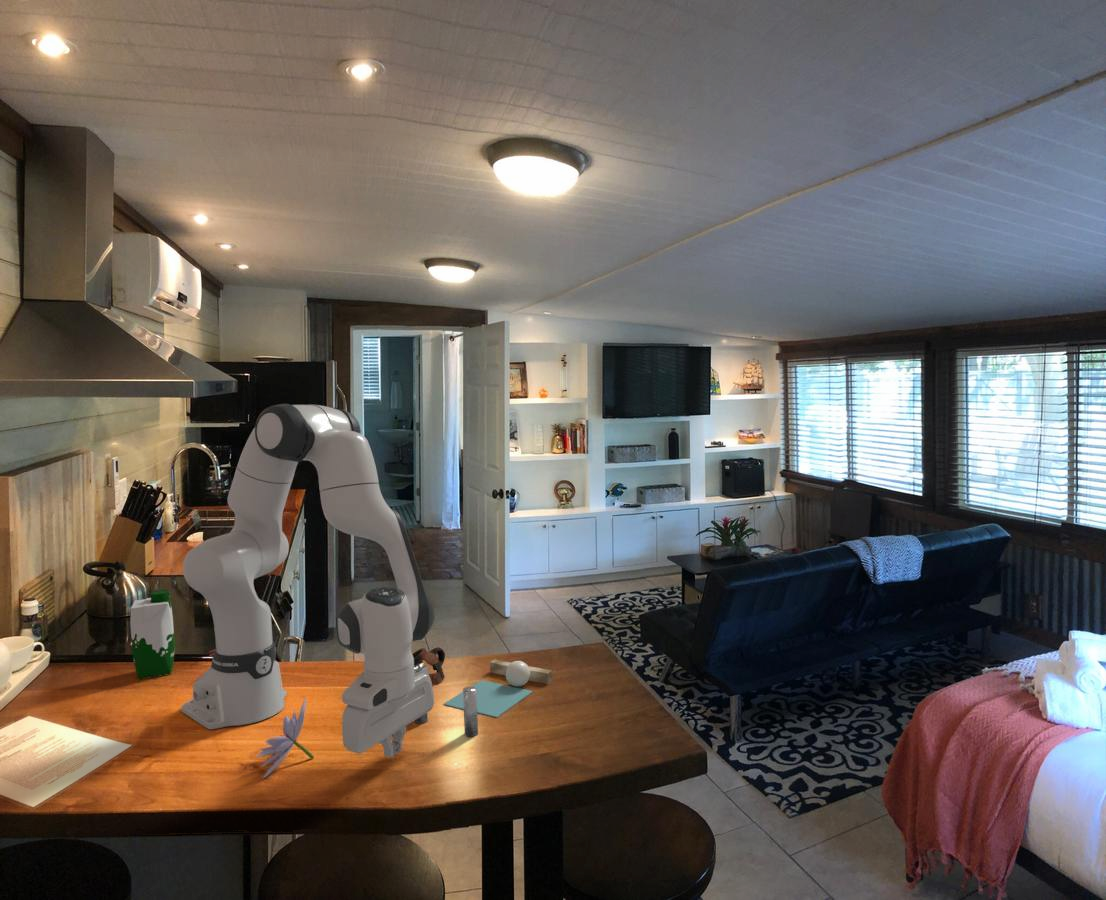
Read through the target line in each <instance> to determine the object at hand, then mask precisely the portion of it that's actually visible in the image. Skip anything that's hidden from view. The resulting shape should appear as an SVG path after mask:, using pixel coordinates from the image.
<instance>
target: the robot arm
mask: <svg viewBox="0 0 1106 900" xmlns="http://www.w3.org/2000/svg"><path fill="white" fill-rule="evenodd" d="M302 461H309V462H310V463H312V465H313V466H314V468H315V469H316V471H317V477H318V487H319V495H320V504H321V508H322V511H323V515H324V518H325V519H326V520H327V522H328V523H329V524H330V525H331V526H332V527H333V528H335V529H336V530H338V531H340V532H342V533H344V534H347V535H350V536H355V537H359V538H364V539H367V540H370V541H373V542H375V543H377V544H379V545H380V546H381V547H382V548H383V549H384V551H385V552H386V555H387V557H388V561H389V564H390V567H391V571H392V573H393V577H394V580H395V583H396V587H393V586H392V587H391V586H380V587H374V588H373V589H372V588H371V589H370V590H368V591H367V592H366V593H364V595H363V597H362V598H359V599H355V600H351V601H349V602H347V603H345V604H344V605H343V606H342V607H341V609H339V612H338V614H337V616H336V618H335V620H336V621H335V625H336V626H335V628H336V636H337V637H336V638H337V642H338V643H339V645H340V646H342V647H343V648H344V649H346V650H348V651H350V652H351V653H354V654H362V655H363V656H364V661H363V671H362V672H361V673H360V674H359V676H357V678H356V679H355V680H354V681H353V682H352V683H351V684H350V685H349V686H347V688H346V689H345V690H343V692H342V696H341V701H342V703H343V704H345V705H346V706H345V707H344V709H343V712H342V718H341V719H342V724H341V727H342V728H341V731H342V734H341V735H342V744H343V746H344V748H345V749H346V750H347V751H349V752H351V753H356V754H358V755H359V754H360V755H361V754H363V753H364V752H366V751H367V750H368V751H369V749H370V748H373V747H374V746H376V745H377V744H379V743H380V744H381V746H382V747H383V755H384V757H386V758H388V759H391V758H393V757H394V756H395V755H397V754H399V753H400V752H402V751H403V742H404V738H405V735H406V734H407V733H406V732H407V726H408V725H409V724H411V723H413V722H415V720H416V719H418V718H419V717H421V716H422V715H424V714H426V713H427V714H428V713H429V712H430V711H433V707H434V705H435V697H434V695H435V694H434V689H433V683H432V678H431V677H430V670H429V667H428V665H426V664H424V663H423V662H422V663H420V664H418V665H416V666H415V667H414V658H413V655H412V654H413V652H412V642H415V641H421V640H423V639H424V638H425V637H426V636H427V634H428V633H429V631H430V630H431V629H432V627H433V625H434V622H435V609H434V606H433V604H432V603H433V602H432V601H431V598H430V596H429V594H428V591H427V590H426V588H425V584H424V582H423V579H422V576H421V572H420V569H419V566H418V563H417V560H416V557H415V553H414V550H413V548H412V547H413V546H412V544H411V540H410V537H409V535H408V531H407V529H406V527H405V524H404V521H403V519H402V517H401V515H400V513H399V512H398V511H397V510H395V509H392V508H390V506H389V504H387V502H386V501H385V499H384V496H383V494H382V492H381V489H380V483H379V476H378V470H377V466H376V462H375V458H374V455H373V452H372V449H371V446H370V443H369V441H368V439H367V437H365V436H364V435H363V434H362V431H361V425H360V423H359V421H358V419H357V418H356V416H355V415H354V414H353V413H351V412H350V411H347V410H345V409H343V408H339V407H330V406H327V405H326V406H325V405H320V404H290V403H280V404H275V405H274V404H273V405H270V406H268V407H266V408H264V409H263V410H262V411H261V412H260V413H259V415H258V417H257V419H256V421H255V426H254V428H253V429H252V431H251V433H250V434H249V436H248V438H247V440H246V443H245V445H244V447H243V449H242V451H241V454H240V457H239V460H238V463H237V465H236V469H235V472H234V476H233V479H232V482H231V485H230V488H229V492H228V495H227V498H226V499H227V505H228V508H229V509H230V510H232V512H233V513H234V524H233V527H232V529H231V530H230V532H228V533H225V534H221V535H218V536H214V537H210V538H208V539H206V540H204V541H203V542H201V543H199V544H197V545H196V546H195V547H193V548H192V549H190V550H189V551H187V553H186V555H185V556H184V558H183V562H182V573H183V577H184V579H185V581H186V583H187V584H188V586H189V587H190V588H192V589H193V590H194V591H195V592H198V593H199V594H200V595H202V596H203V597H204V599H205V602H206V603H207V604H208V606H209V608H210V611H211V615H212V621H213V625H214V626H213V627H214V628H213V629H214V630H213V631H214V639H215V649H212V650H210V651H208V653H210V654H209V656H208V657H212V659H211V660H212V661H211V666H210V667H209V668H208V669H206V671H205V672H204V673H203V674H202V675H201V676H199V677H198V678H197V679H196V680H195V681H194V683H193V685H192V686H193V687H192V698H191V699H190V700H188V701H187V702H185V703H184V704H182V705H181V707H180V708H181V709H180V710H181V712H182V713H183V714H185V715H186V716H188V717H189V718H191V719H193V720H194V721H195V722H197V723H199V724H200V725H201V726H203V727H204V728H206V729H208V730H216V729H221V728H225V727H232V726H233V727H235V726H244V725H250V724H253V723H254V724H255V723H257V722H261V721H264V720H265V719H268V718H271V717H273V716H274V715H277V714H278V713H280V712H281V711H282V710H283V708H285V699H286V697H287V696H286V694H287V695H288V693H287V690H286V689H283V688H284V687H283V684H282V683H283V682H282V676H281V670H280V664H279V662H278V661H277V659H276V658H277V653H276V652H277V648H276V647H277V646H276V644H275V643H276V642H275V641H274V640H273V626H272V625H273V624H272V612H271V608H270V606H269V604H268V603H267V602H265V601H264V600H261V599H260V598H259V597H258V594H257V591H256V590H255V585H254V580H255V579H257V578H259V577H263V576H265V575H268V574H269V573H271V572H273V571H274V570H276V569H277V568H278V567H279V566H280V565H282V564H283V563H284V562H285V560H286V559H287V557H288V555H289V551H290V544H289V541H288V537H287V536H286V534H285V533H284V532H283V514H284V509H285V506H286V503H287V501H288V500H287V499H288V497H289V493H290V490H291V486H292V483H293V480H294V477H295V472H296V470H297V466H298V464H299V463H301V462H302ZM285 696H286V697H285ZM284 698H285V699H284ZM391 740H392V741H391Z"/></svg>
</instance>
